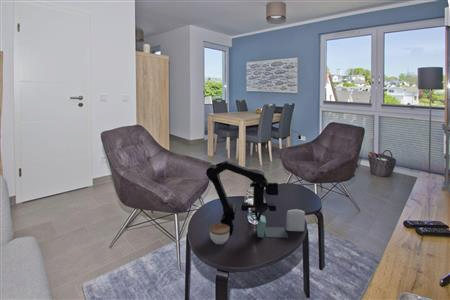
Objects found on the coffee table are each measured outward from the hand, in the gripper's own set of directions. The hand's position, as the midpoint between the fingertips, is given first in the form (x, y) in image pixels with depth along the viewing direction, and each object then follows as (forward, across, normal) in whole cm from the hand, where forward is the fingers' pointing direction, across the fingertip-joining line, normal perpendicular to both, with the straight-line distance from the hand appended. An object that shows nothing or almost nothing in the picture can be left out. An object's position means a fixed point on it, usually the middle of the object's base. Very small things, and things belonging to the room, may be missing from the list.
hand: (257, 221), depth 164 cm
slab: (+8, +1, 0) cm, 8 cm away
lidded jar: (+8, -21, -9) cm, 24 cm away
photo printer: (+8, +22, +5) cm, 24 cm away
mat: (+8, +10, +2) cm, 13 cm away
